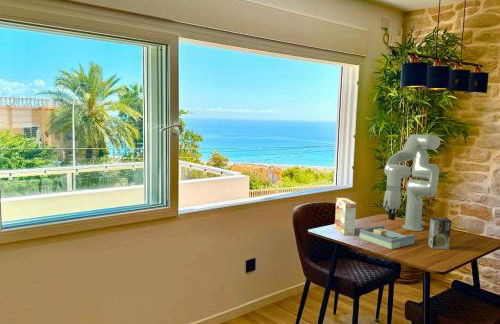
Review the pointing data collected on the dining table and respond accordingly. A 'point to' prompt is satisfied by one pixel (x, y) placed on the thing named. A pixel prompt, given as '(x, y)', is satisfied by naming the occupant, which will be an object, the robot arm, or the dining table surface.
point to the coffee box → (439, 233)
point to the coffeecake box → (345, 216)
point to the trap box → (386, 238)
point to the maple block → (380, 232)
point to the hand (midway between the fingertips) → (391, 219)
